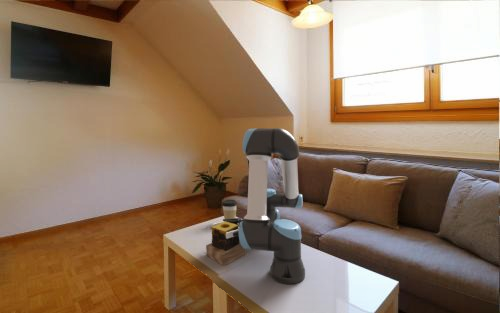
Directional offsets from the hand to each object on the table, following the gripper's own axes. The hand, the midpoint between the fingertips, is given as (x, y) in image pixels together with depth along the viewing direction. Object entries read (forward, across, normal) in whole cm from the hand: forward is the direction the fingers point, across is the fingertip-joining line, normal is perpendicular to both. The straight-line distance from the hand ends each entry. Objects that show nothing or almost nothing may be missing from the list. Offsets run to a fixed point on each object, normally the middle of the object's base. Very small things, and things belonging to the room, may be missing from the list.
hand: (219, 231), depth 132 cm
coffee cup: (-26, +35, -14) cm, 46 cm away
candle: (-3, 0, -8) cm, 9 cm away
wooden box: (-3, 0, -14) cm, 15 cm away
